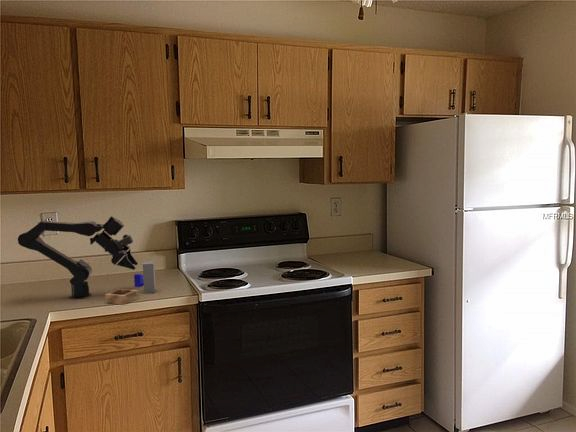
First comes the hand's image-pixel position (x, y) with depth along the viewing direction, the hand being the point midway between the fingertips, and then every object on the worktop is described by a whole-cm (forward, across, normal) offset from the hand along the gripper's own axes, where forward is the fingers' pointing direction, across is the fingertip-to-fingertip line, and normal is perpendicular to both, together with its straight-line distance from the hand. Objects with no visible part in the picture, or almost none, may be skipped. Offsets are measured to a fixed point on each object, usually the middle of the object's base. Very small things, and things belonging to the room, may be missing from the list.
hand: (136, 266), depth 210 cm
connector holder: (+5, -11, +12) cm, 17 cm away
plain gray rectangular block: (+12, 0, +5) cm, 13 cm away
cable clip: (+9, +16, +8) cm, 20 cm away
